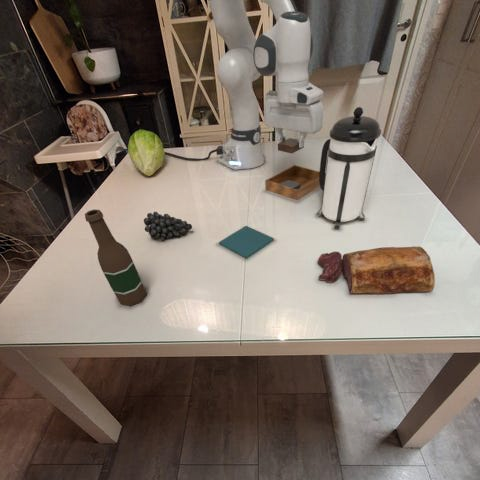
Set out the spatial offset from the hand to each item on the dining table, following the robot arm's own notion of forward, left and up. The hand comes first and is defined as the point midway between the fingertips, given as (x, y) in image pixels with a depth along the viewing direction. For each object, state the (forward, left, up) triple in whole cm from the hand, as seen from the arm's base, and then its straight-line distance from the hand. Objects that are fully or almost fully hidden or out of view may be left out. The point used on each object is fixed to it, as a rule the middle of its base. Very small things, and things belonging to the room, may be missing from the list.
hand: (291, 145), depth 96 cm
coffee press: (+21, -1, -18) cm, 27 cm away
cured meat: (+43, -21, -18) cm, 51 cm away
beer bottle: (+2, -67, -18) cm, 70 cm away
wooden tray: (-3, +8, -18) cm, 19 cm away
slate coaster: (-3, +4, -17) cm, 18 cm away
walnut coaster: (0, 0, -1) cm, 1 cm away
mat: (+8, -30, -18) cm, 36 cm away
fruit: (-14, -43, -18) cm, 49 cm away
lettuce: (-71, -15, -18) cm, 74 cm away
